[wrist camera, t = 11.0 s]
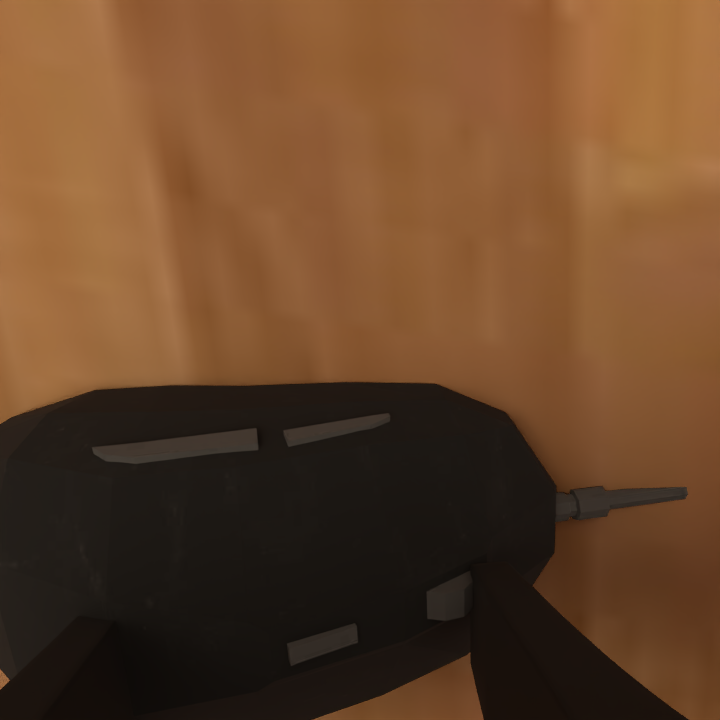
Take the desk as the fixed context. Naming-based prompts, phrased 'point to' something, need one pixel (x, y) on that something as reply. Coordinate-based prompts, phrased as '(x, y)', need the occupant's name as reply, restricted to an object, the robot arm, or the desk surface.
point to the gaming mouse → (270, 536)
